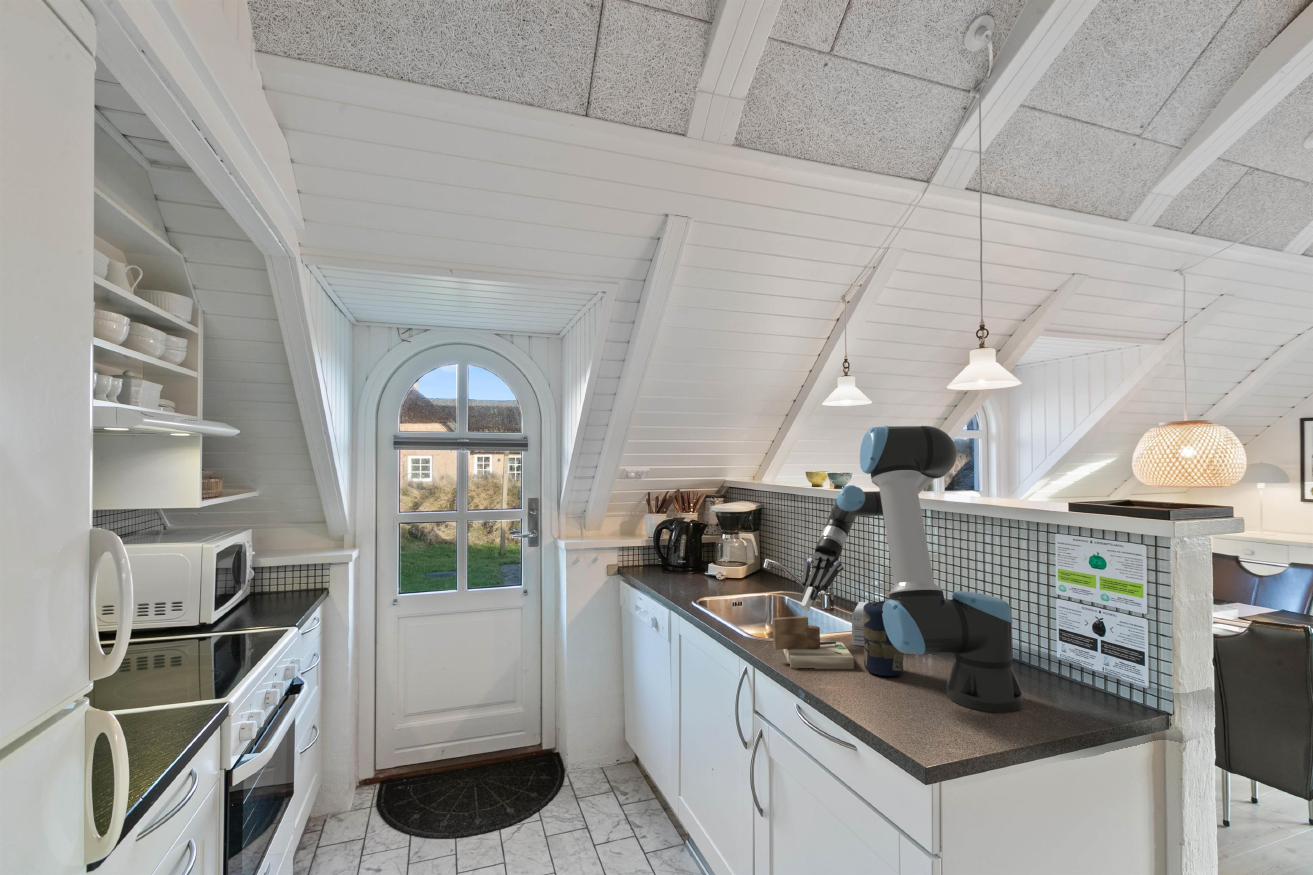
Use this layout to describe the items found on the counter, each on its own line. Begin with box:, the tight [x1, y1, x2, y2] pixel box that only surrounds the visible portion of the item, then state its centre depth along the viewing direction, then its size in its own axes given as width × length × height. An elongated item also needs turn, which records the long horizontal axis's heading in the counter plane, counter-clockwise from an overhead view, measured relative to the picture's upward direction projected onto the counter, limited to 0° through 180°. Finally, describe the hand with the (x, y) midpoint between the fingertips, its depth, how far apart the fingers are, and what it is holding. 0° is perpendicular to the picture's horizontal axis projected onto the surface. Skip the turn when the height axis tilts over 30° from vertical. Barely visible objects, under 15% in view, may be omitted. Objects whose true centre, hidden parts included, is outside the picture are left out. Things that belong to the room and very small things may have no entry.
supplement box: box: [851, 601, 869, 647], centre depth 185 cm, size 17×13×9 cm
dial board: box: [782, 638, 855, 670], centre depth 168 cm, size 16×16×3 cm
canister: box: [863, 600, 905, 677], centre depth 157 cm, size 10×10×18 cm
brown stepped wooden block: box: [772, 615, 836, 651], centre depth 168 cm, size 18×4×8 cm, turn 101°
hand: (804, 607), depth 180 cm, fingers closed
